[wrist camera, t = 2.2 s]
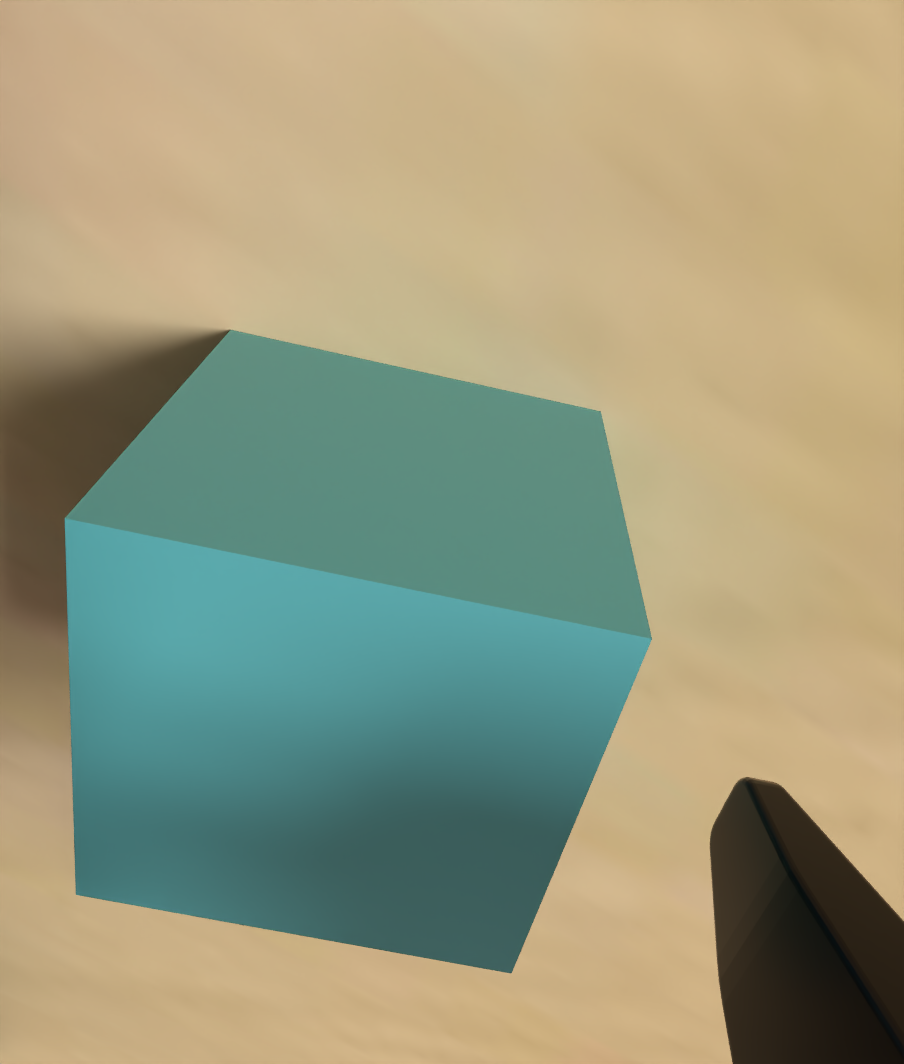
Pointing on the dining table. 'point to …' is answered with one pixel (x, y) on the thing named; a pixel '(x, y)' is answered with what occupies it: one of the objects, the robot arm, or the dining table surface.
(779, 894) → the robot arm
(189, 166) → the dining table surface
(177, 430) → the teal cube
